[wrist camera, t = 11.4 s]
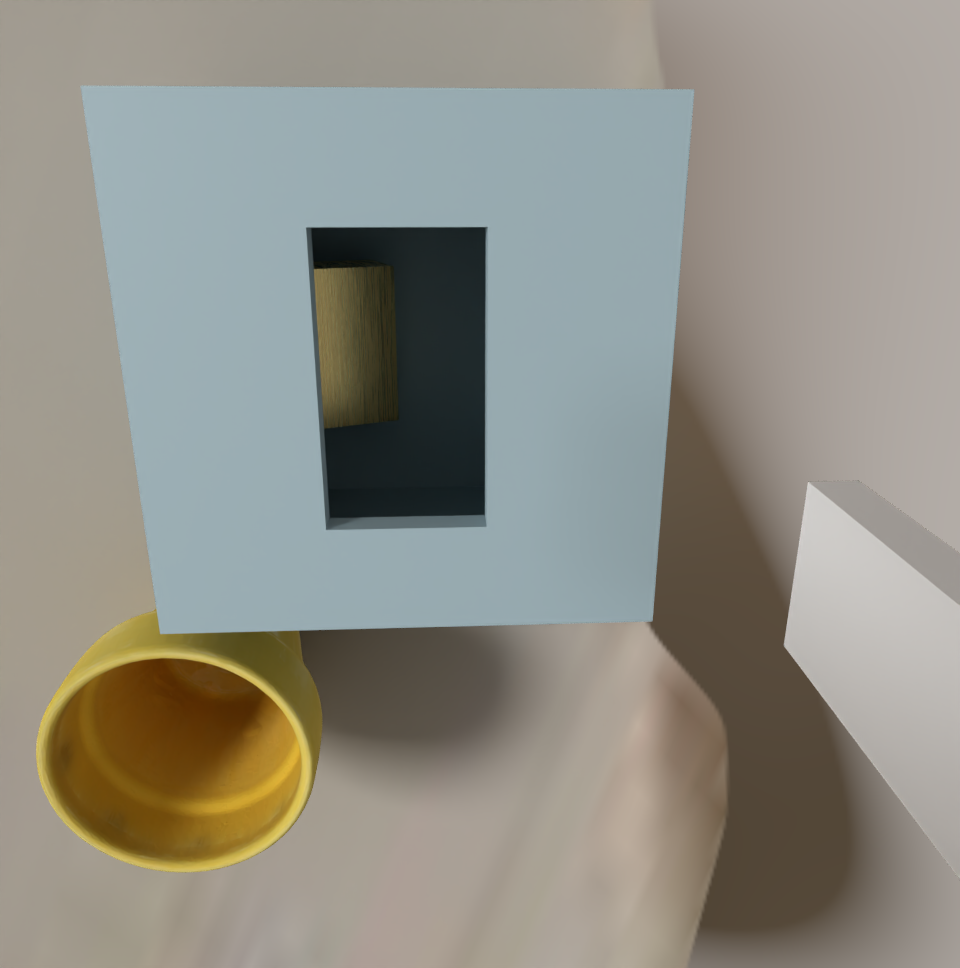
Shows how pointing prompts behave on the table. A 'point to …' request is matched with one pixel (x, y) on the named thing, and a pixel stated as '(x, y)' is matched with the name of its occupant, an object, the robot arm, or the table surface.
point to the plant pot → (182, 744)
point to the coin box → (419, 343)
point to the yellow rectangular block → (356, 341)
